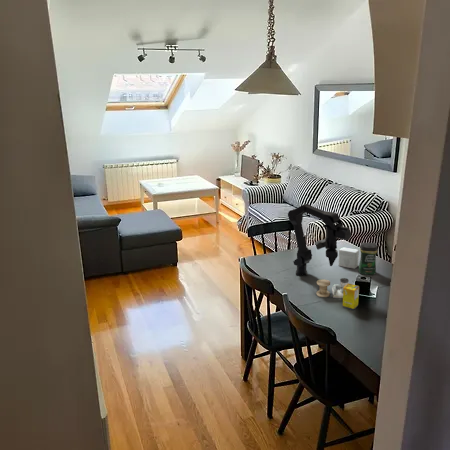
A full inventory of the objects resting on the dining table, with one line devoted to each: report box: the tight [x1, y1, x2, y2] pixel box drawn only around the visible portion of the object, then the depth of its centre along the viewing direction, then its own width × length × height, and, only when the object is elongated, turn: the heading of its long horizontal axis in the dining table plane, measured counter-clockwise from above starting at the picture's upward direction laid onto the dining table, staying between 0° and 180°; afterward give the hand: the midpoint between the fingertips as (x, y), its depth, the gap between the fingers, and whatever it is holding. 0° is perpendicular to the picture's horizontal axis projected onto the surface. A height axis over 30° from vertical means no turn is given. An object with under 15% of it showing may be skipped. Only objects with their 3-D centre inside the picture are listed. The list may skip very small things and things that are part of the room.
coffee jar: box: [358, 242, 378, 276], centre depth 249 cm, size 10×8×19 cm
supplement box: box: [342, 282, 360, 311], centre depth 212 cm, size 6×6×11 cm
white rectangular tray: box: [331, 283, 343, 299], centre depth 227 cm, size 10×12×3 cm
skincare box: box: [338, 246, 360, 270], centre depth 261 cm, size 10×6×10 cm, turn 56°
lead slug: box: [339, 277, 350, 293], centre depth 226 cm, size 4×4×7 cm
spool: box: [316, 278, 331, 298], centre depth 227 cm, size 7×7×7 cm
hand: (330, 262), depth 236 cm, fingers open, 9 cm apart
